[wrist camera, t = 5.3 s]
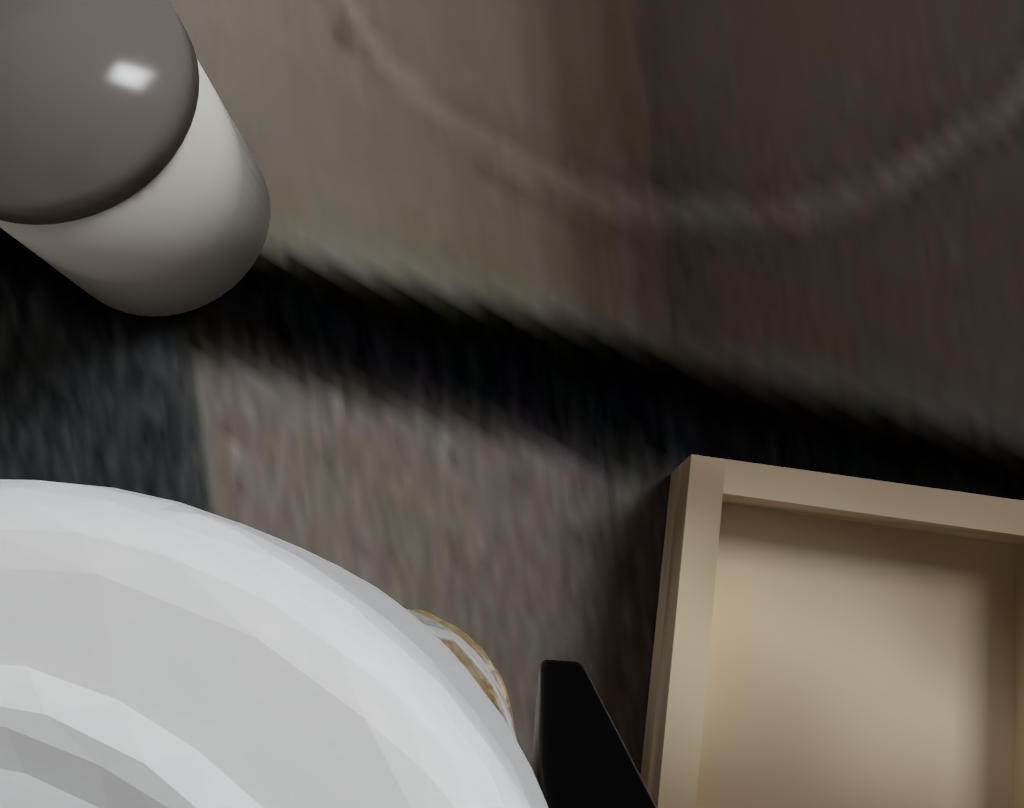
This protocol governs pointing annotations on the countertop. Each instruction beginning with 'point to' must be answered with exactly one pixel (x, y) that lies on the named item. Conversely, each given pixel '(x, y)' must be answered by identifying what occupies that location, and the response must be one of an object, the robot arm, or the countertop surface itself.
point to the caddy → (835, 644)
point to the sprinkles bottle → (227, 671)
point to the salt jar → (123, 156)
